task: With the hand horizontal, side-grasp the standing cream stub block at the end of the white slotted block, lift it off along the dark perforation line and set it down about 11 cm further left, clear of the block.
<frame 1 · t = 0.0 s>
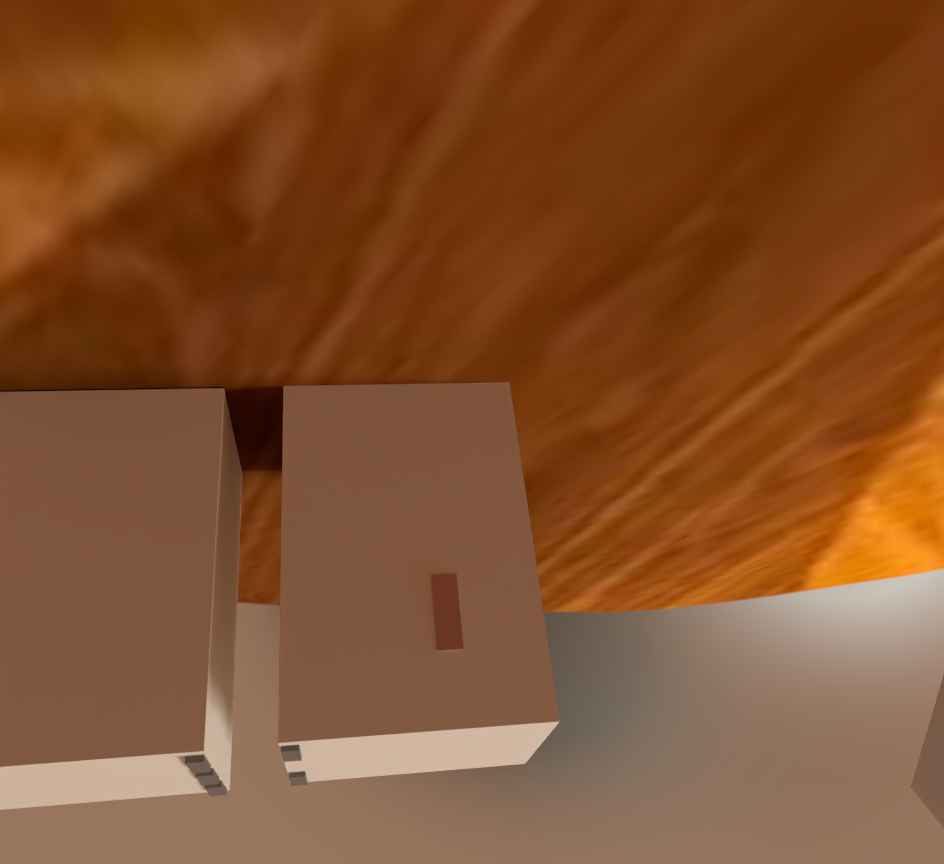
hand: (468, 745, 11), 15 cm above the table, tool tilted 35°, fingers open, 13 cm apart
white slotted block: (63, 437, 32), on the table
stub: (394, 428, 33), on the table
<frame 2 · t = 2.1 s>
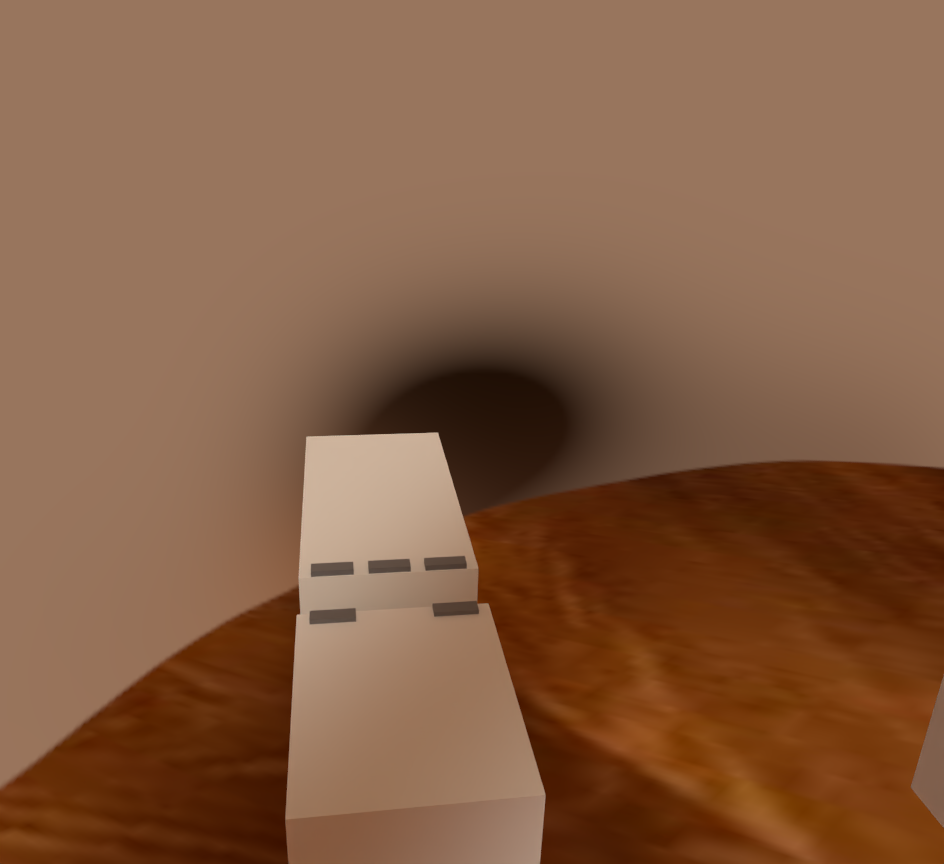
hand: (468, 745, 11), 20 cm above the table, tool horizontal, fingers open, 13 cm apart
white slotted block: (382, 732, 39), on the table
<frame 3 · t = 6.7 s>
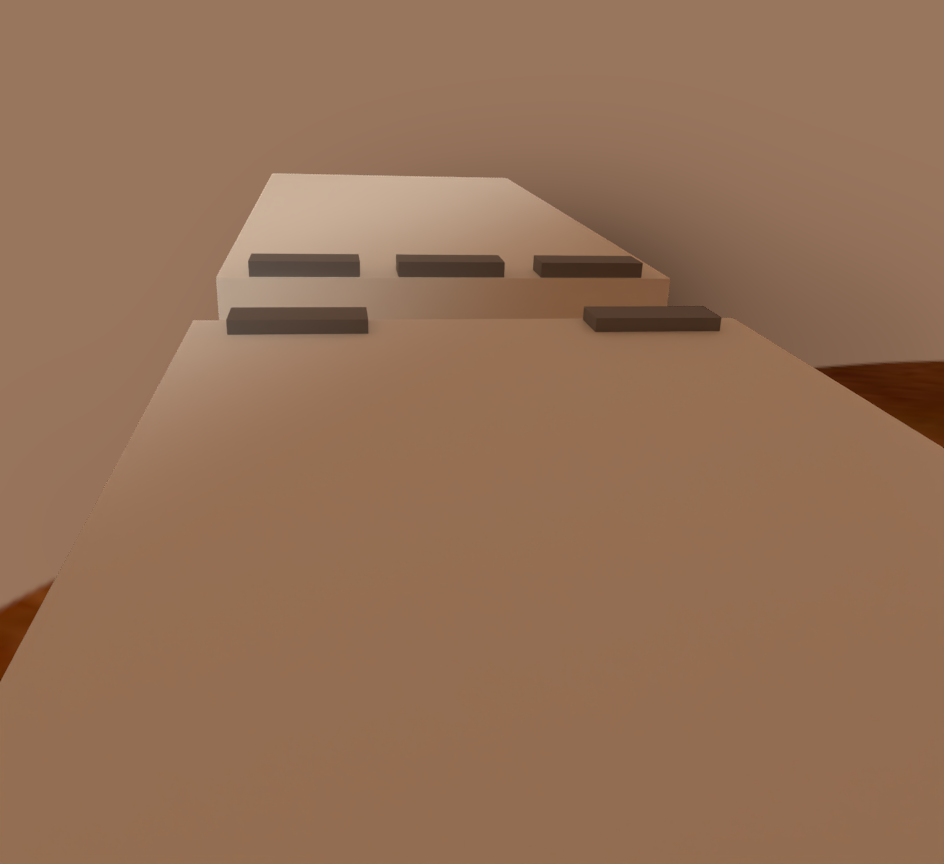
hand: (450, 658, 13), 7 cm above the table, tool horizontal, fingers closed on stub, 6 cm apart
white slotted block: (407, 708, 21), on the table
when the fingers open (8 cm above the table, at t = 11.3 s): stub drops 1 cm, on the table.
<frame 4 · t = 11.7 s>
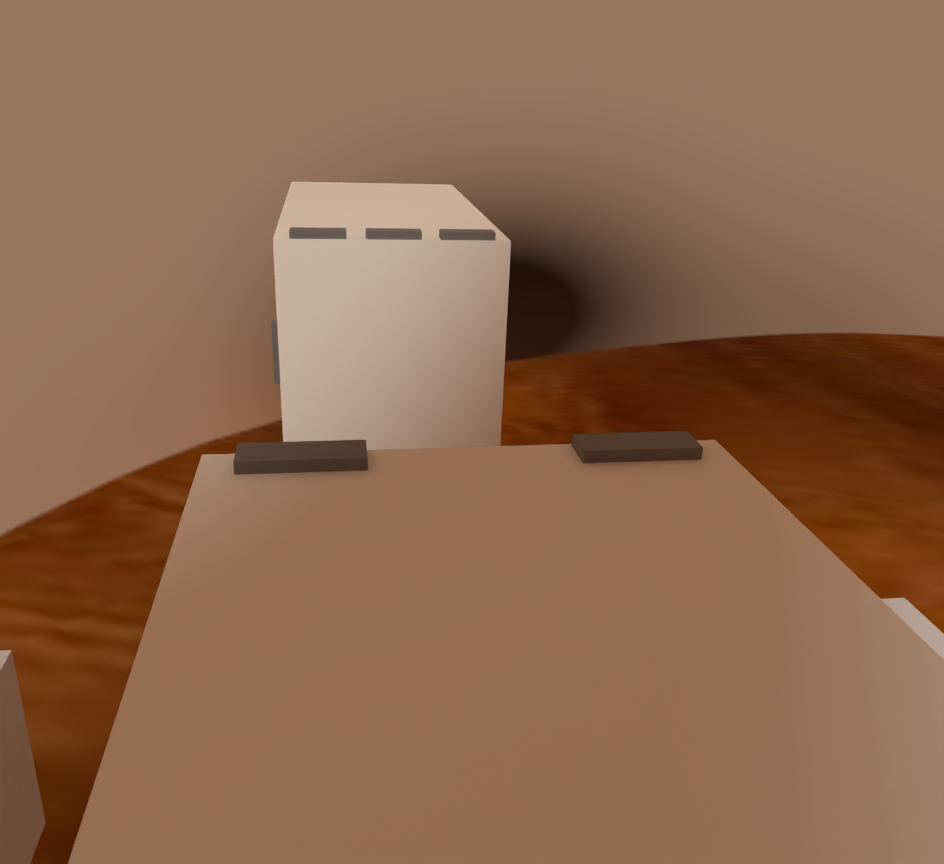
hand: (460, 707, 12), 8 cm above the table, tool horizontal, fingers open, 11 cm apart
white slotted block: (382, 539, 32), on the table
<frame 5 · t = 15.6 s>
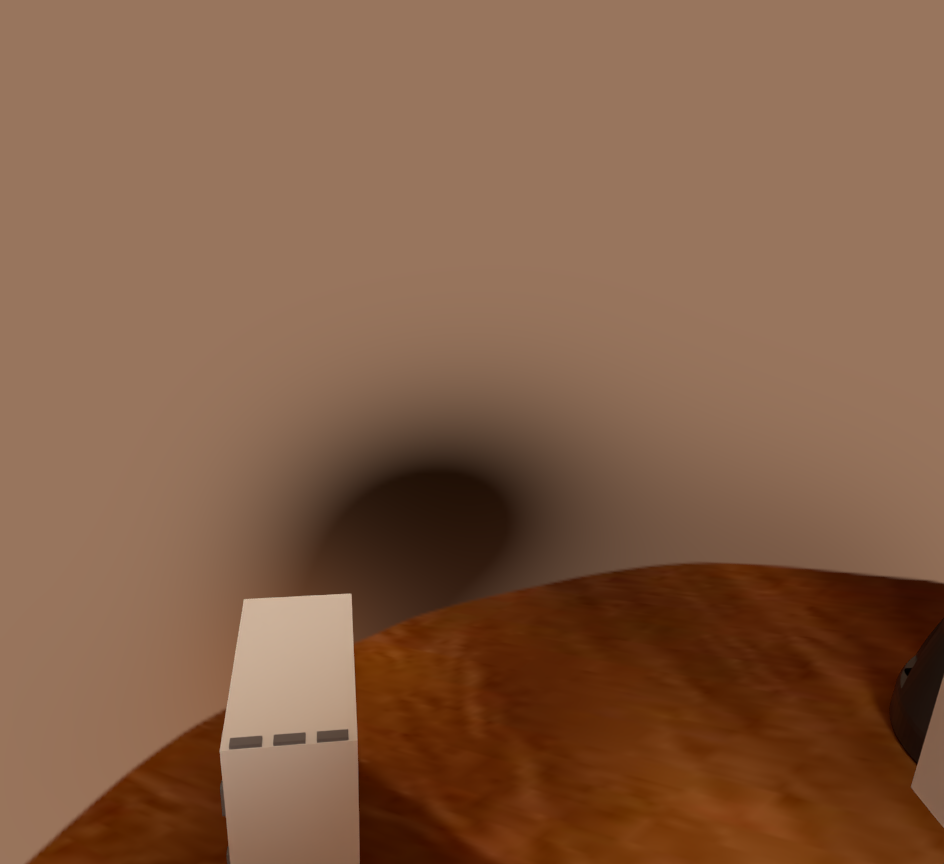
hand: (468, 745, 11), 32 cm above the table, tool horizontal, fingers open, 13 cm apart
white slotted block: (303, 838, 49), on the table
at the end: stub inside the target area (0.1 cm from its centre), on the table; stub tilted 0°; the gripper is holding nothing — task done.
